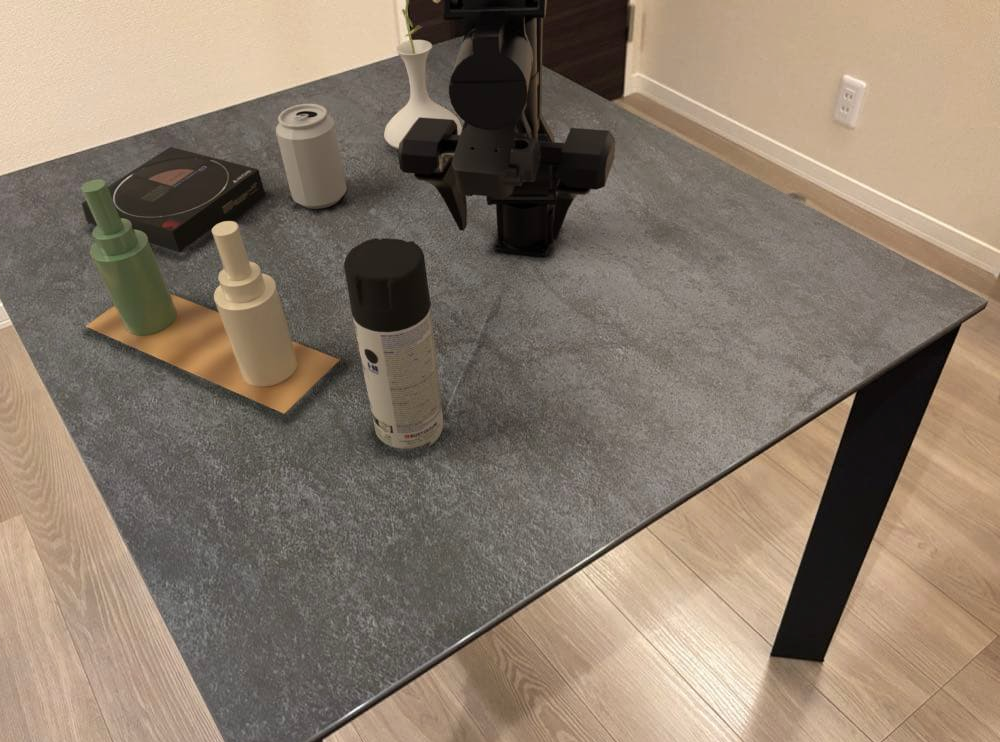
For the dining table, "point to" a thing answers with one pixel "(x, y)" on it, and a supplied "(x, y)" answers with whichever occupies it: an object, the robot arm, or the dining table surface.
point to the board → (216, 353)
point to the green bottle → (128, 266)
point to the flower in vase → (415, 89)
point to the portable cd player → (183, 196)
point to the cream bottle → (251, 313)
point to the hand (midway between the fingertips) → (508, 233)
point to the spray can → (396, 340)
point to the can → (311, 155)
